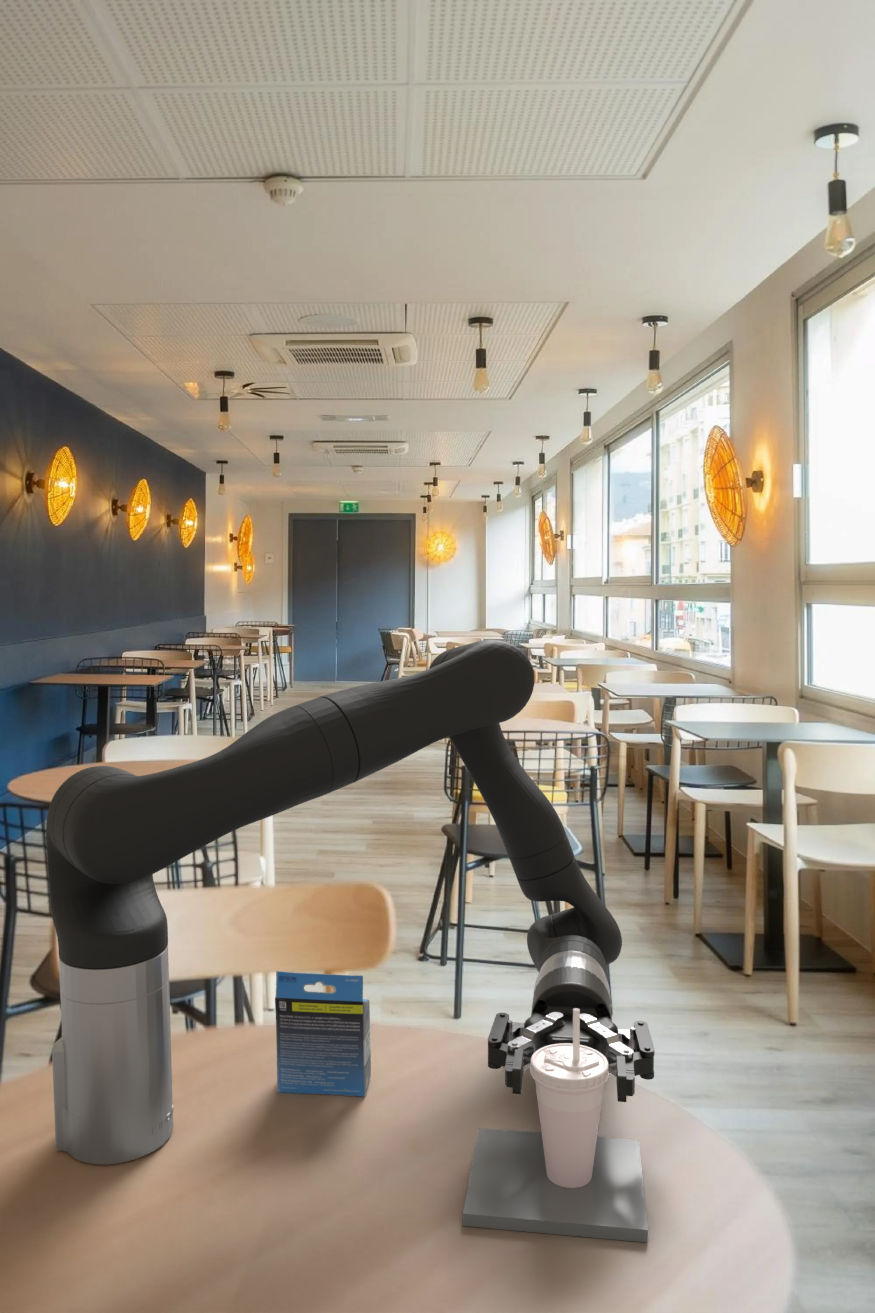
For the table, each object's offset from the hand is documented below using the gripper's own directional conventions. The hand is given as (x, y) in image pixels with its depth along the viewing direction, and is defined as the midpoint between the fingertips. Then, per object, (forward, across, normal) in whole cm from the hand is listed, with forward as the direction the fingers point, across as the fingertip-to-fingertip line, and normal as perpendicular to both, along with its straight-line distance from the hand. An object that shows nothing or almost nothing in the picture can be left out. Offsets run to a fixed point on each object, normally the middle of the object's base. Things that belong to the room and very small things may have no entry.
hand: (569, 1087), depth 80 cm
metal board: (0, -1, +9) cm, 9 cm away
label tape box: (-13, -24, +9) cm, 29 cm away
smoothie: (0, 0, +8) cm, 8 cm away
